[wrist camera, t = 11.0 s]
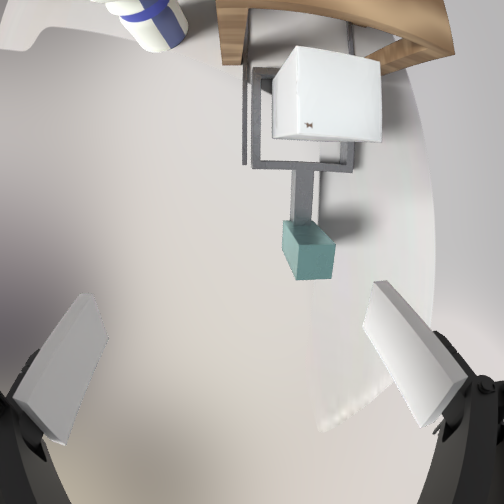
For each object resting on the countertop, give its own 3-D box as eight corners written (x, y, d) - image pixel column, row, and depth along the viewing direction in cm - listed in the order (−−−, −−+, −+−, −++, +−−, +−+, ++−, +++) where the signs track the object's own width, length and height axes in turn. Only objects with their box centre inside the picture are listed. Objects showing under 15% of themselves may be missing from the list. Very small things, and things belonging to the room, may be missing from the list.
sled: (251, 71, 31) (258, 48, 22) (347, 81, 32) (380, 67, 23) (250, 249, 41) (256, 281, 32) (338, 247, 42) (364, 276, 33)
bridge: (224, -2, 26) (223, -82, 8) (364, 16, 28) (432, -31, 10) (222, 65, 31) (215, 0, 13) (369, 80, 32) (455, 54, 14)
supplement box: (331, 143, 36) (384, 146, 22) (271, 139, 36) (295, 136, 22) (332, 84, 33) (383, 60, 19) (271, 78, 32) (294, 43, 18)
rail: (244, -6, 26) (244, -7, 26) (348, 8, 27) (349, 7, 27) (242, 164, 37) (242, 164, 36) (352, 168, 38) (353, 169, 37)
